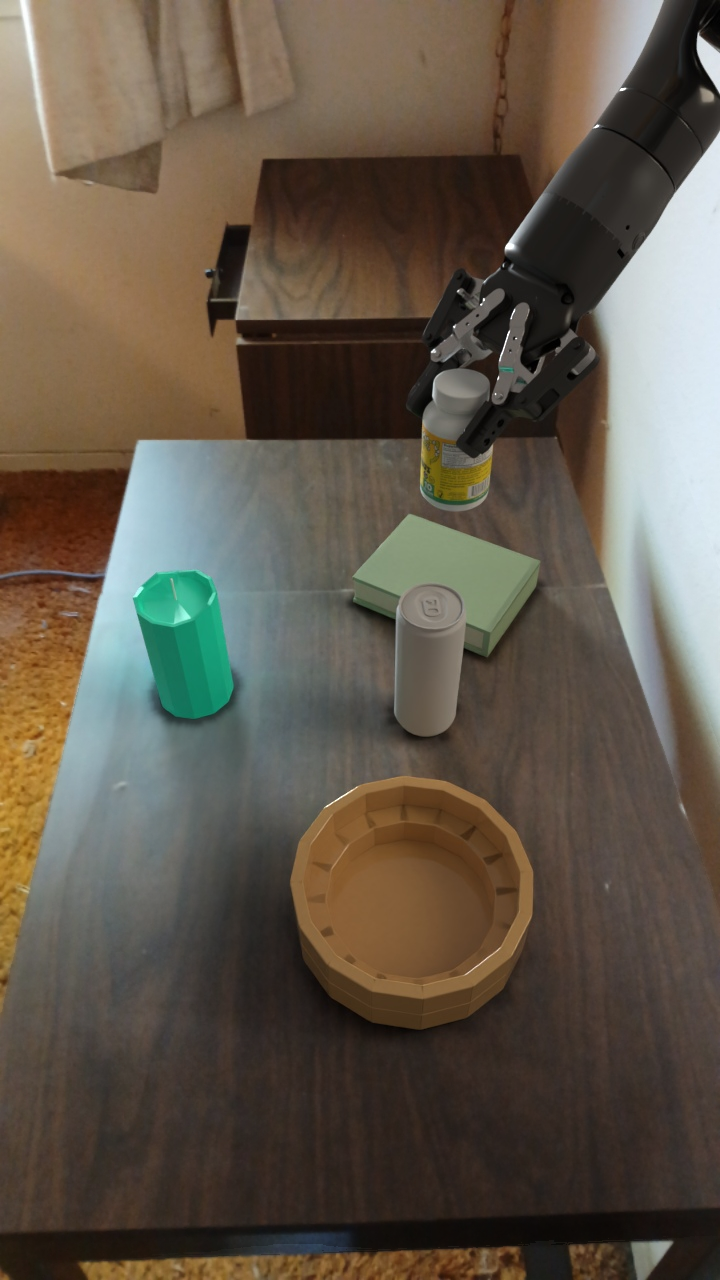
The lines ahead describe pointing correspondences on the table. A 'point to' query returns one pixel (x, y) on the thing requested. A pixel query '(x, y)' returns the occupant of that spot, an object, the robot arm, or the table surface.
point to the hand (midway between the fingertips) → (439, 432)
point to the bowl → (411, 901)
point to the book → (449, 577)
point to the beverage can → (428, 657)
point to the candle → (185, 642)
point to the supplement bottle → (453, 442)
